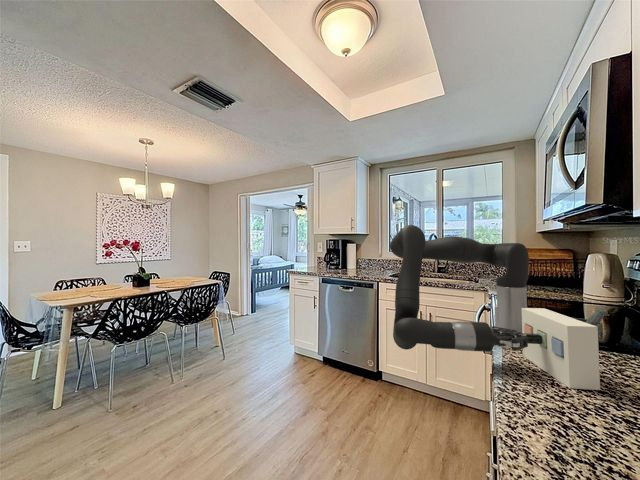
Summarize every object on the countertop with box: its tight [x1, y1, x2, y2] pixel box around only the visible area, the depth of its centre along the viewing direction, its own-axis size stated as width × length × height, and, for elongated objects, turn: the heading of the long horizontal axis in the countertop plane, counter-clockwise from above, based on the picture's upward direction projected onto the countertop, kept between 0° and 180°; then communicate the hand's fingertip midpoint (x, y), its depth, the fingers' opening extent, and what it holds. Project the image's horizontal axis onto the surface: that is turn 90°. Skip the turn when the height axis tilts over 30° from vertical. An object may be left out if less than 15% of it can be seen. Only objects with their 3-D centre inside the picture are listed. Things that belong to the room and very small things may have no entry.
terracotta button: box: [524, 325, 533, 334], centre depth 79 cm, size 2×3×3 cm, turn 171°
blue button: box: [551, 338, 564, 356], centre depth 67 cm, size 2×3×3 cm, turn 170°
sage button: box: [537, 331, 547, 347], centre depth 73 cm, size 2×3×3 cm, turn 171°
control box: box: [522, 307, 601, 391], centre depth 72 cm, size 6×19×14 cm, turn 171°
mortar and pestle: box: [573, 307, 609, 338], centre depth 92 cm, size 11×9×12 cm
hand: (540, 338), depth 73 cm, fingers closed
